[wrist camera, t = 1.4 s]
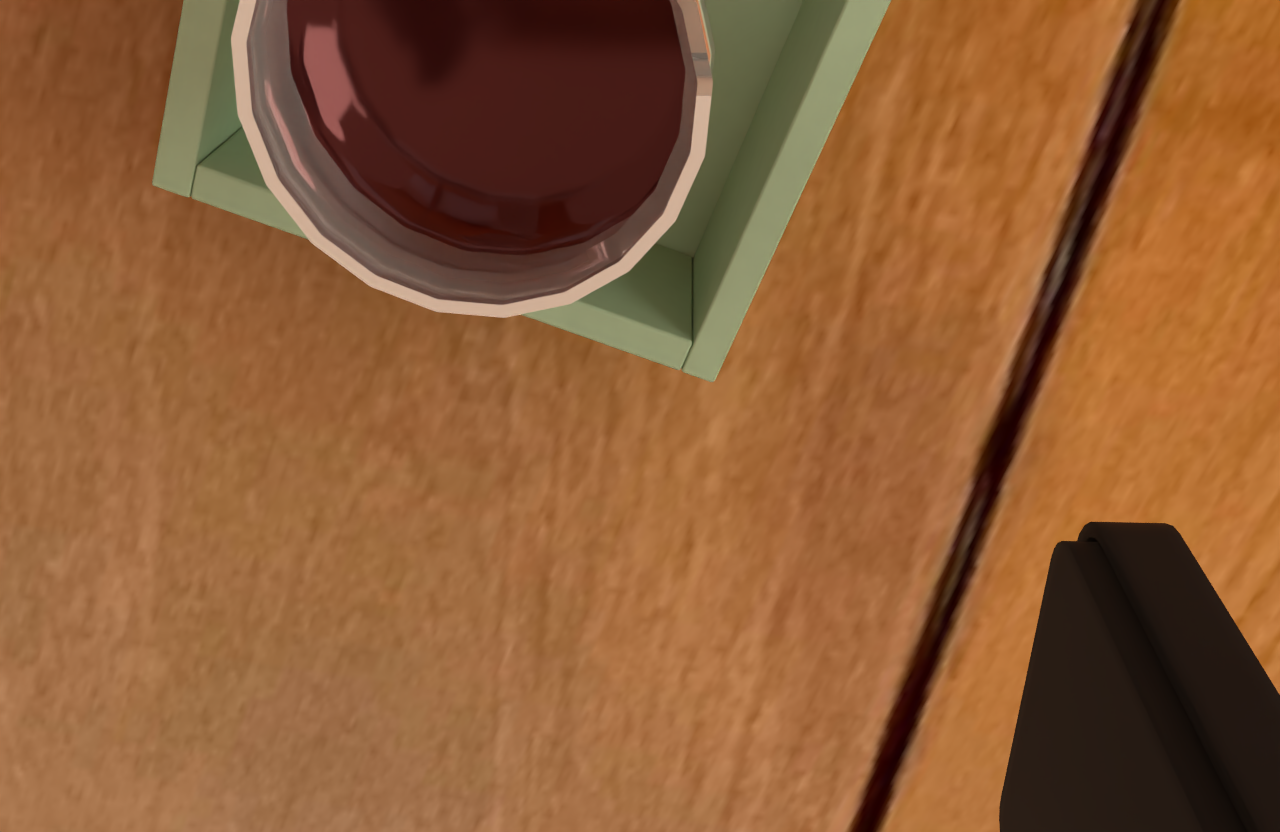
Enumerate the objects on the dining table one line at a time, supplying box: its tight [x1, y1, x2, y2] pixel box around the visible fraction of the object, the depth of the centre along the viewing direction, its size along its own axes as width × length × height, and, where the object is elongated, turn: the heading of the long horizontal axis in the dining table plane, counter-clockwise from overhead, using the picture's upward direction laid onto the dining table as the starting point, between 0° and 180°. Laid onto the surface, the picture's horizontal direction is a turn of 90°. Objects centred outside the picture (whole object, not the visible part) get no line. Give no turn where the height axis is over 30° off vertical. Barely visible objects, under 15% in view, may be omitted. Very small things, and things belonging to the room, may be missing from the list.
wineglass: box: [231, 0, 715, 318], centre depth 22 cm, size 7×7×12 cm
